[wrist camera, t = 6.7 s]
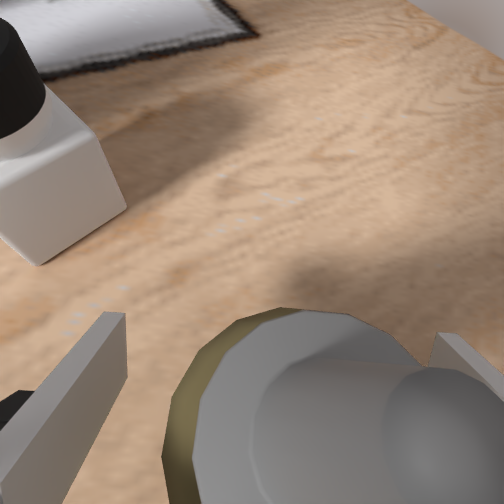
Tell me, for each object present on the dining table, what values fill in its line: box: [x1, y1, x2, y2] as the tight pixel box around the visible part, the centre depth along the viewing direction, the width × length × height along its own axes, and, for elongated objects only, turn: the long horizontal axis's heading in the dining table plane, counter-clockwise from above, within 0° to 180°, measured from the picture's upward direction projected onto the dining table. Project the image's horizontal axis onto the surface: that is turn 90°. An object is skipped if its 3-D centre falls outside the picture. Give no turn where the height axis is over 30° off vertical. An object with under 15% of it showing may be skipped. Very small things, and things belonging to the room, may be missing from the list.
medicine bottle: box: [0, 18, 127, 266], centre depth 19 cm, size 7×7×12 cm
